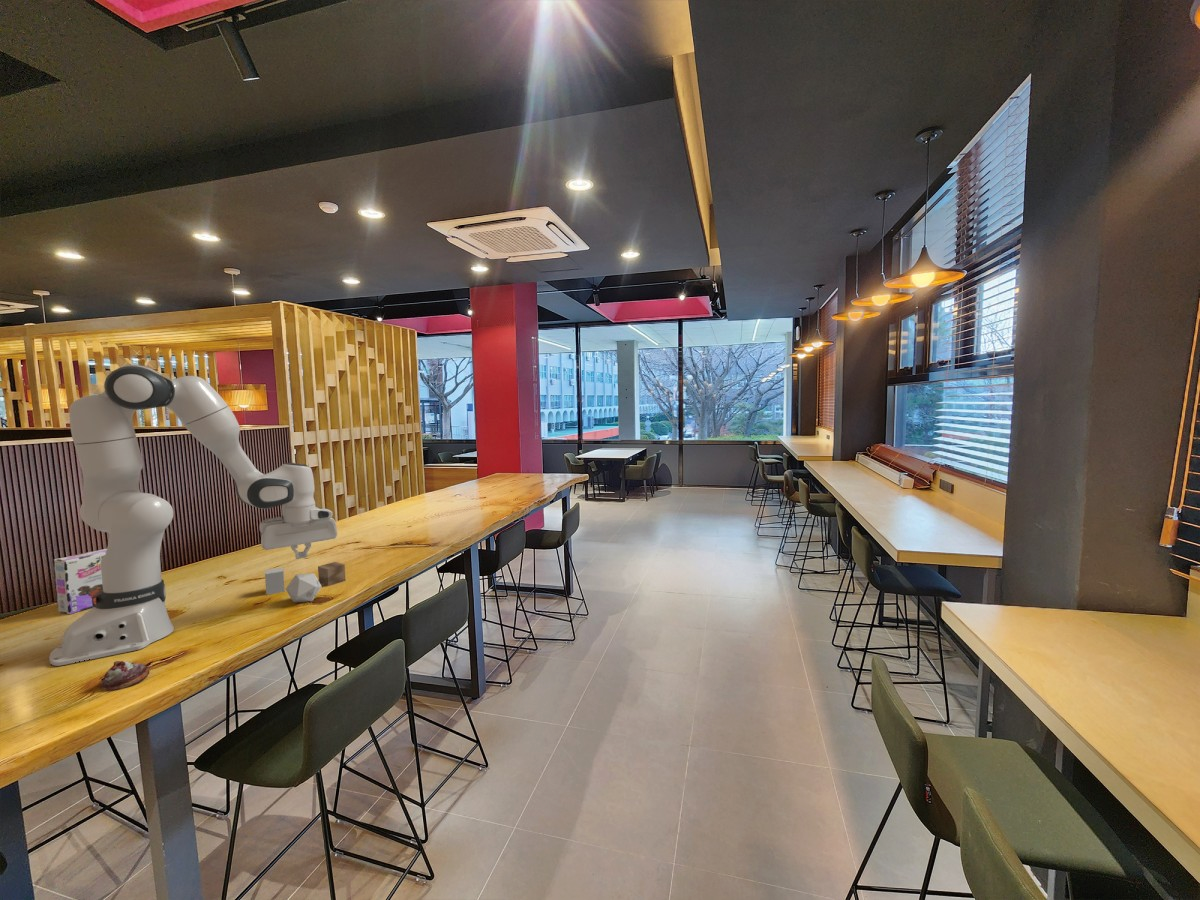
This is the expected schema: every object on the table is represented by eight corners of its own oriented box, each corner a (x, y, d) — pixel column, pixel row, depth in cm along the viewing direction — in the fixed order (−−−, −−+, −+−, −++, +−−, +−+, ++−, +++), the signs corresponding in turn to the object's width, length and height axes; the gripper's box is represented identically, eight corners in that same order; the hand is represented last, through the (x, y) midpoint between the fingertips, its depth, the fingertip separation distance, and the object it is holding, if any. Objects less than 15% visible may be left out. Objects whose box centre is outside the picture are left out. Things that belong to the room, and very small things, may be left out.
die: (300, 609, 145) (321, 579, 149) (274, 595, 145) (296, 565, 148) (311, 609, 153) (331, 580, 157) (286, 595, 153) (307, 567, 156)
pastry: (91, 690, 103) (88, 667, 102) (130, 671, 110) (129, 650, 110) (121, 693, 101) (118, 670, 101) (159, 674, 109) (157, 653, 108)
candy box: (69, 615, 142) (63, 560, 140) (57, 612, 143) (51, 559, 142) (127, 597, 155) (123, 548, 153) (116, 595, 156) (111, 546, 155)
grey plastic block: (266, 595, 156) (264, 574, 155) (266, 590, 160) (265, 570, 159) (284, 591, 159) (283, 571, 158) (284, 587, 163) (283, 567, 162)
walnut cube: (328, 586, 163) (327, 569, 163) (318, 583, 166) (317, 566, 166) (345, 580, 168) (344, 564, 168) (335, 578, 171) (335, 561, 171)
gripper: (260, 521, 140) (263, 567, 141) (337, 511, 154) (339, 553, 155) (257, 517, 144) (259, 562, 145) (332, 508, 158) (334, 549, 159)
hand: (301, 557), depth 150 cm, fingers closed
